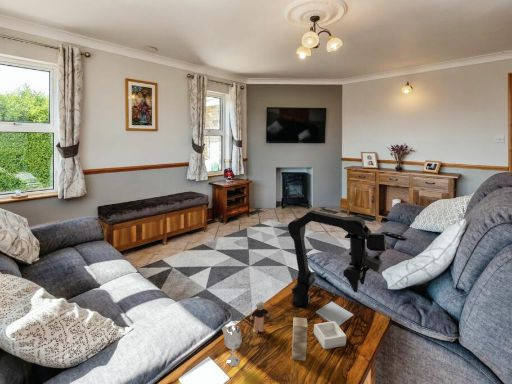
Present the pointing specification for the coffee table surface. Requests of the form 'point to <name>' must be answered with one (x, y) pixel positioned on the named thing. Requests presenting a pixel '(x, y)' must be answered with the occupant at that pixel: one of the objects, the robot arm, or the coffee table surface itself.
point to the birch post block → (299, 338)
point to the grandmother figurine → (259, 317)
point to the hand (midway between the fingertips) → (359, 288)
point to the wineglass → (233, 343)
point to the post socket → (329, 335)
